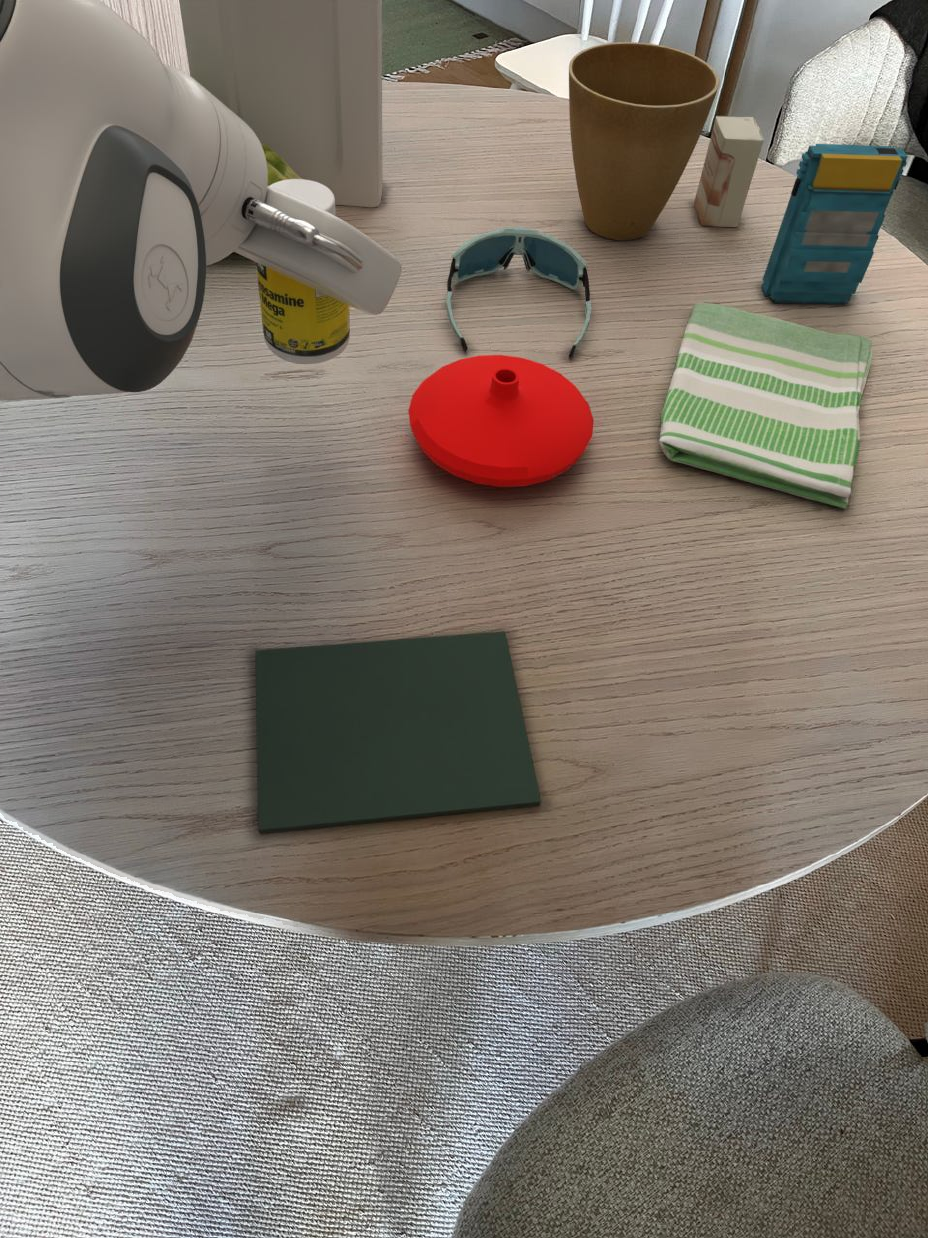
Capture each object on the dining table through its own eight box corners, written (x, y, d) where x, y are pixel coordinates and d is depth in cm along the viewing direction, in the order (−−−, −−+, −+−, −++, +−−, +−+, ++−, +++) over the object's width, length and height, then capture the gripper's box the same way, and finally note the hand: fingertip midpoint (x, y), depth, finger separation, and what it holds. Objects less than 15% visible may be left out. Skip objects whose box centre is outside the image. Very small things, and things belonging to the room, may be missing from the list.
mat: (259, 834, 61) (258, 830, 61) (256, 654, 70) (255, 650, 70) (540, 805, 64) (541, 801, 63) (504, 635, 72) (505, 631, 72)
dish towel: (868, 356, 97) (879, 333, 94) (851, 516, 82) (863, 492, 80) (690, 314, 99) (697, 290, 97) (644, 461, 85) (650, 437, 83)
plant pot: (670, 191, 114) (704, 43, 102) (692, 262, 105) (733, 109, 93) (543, 185, 114) (562, 35, 101) (554, 256, 104) (577, 101, 92)
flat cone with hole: (465, 363, 92) (470, 297, 87) (617, 426, 88) (633, 361, 82) (372, 458, 83) (371, 391, 78) (536, 533, 79) (547, 468, 73)
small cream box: (692, 203, 113) (714, 113, 105) (729, 204, 113) (754, 115, 105) (700, 227, 110) (724, 136, 102) (738, 228, 110) (765, 138, 102)
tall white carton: (390, 143, 118) (391, -144, 96) (379, 207, 108) (377, -94, 86) (230, 130, 117) (194, -161, 95) (205, 194, 108) (159, -113, 86)
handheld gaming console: (845, 285, 104) (903, 144, 92) (857, 308, 102) (918, 166, 90) (756, 283, 103) (803, 141, 92) (765, 306, 101) (815, 163, 89)
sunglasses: (583, 271, 103) (591, 230, 98) (588, 375, 95) (597, 336, 91) (448, 262, 102) (450, 220, 98) (442, 366, 95) (444, 326, 90)
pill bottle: (246, 339, 71) (228, 192, 63) (310, 306, 74) (301, 162, 66) (304, 379, 69) (293, 232, 60) (368, 343, 72) (366, 198, 63)
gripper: (357, 185, 50) (453, 274, 63) (75, 67, 57) (215, 169, 70) (307, 300, 51) (411, 364, 64) (35, 172, 58) (180, 254, 71)
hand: (308, 262), depth 67 cm, fingers closed on pill bottle, 6 cm apart
